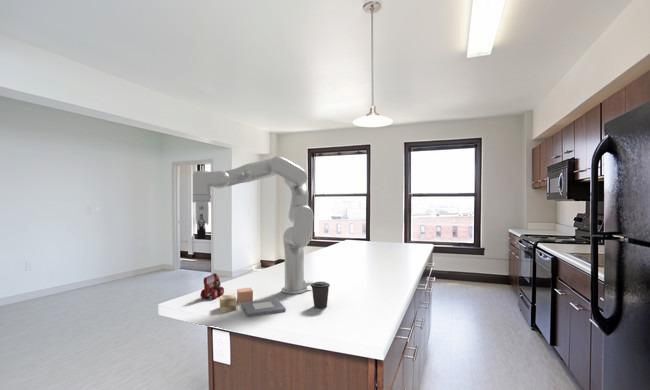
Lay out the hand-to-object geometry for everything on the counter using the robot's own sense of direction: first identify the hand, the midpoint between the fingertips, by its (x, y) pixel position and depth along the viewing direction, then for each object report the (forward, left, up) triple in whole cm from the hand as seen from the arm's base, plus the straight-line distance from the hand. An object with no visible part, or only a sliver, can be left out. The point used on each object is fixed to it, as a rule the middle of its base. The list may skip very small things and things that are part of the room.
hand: (201, 238), depth 139 cm
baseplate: (-24, +18, -29) cm, 41 cm away
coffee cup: (-46, +25, -29) cm, 60 cm away
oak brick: (-10, +12, -29) cm, 33 cm away
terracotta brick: (-18, +4, -29) cm, 34 cm away
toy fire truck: (-5, -9, -29) cm, 30 cm away
